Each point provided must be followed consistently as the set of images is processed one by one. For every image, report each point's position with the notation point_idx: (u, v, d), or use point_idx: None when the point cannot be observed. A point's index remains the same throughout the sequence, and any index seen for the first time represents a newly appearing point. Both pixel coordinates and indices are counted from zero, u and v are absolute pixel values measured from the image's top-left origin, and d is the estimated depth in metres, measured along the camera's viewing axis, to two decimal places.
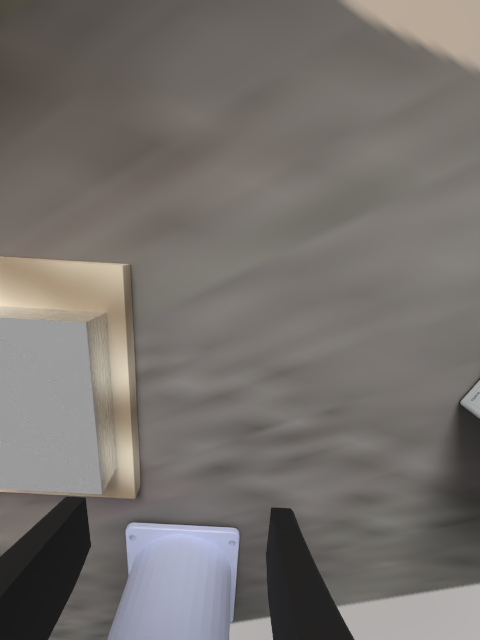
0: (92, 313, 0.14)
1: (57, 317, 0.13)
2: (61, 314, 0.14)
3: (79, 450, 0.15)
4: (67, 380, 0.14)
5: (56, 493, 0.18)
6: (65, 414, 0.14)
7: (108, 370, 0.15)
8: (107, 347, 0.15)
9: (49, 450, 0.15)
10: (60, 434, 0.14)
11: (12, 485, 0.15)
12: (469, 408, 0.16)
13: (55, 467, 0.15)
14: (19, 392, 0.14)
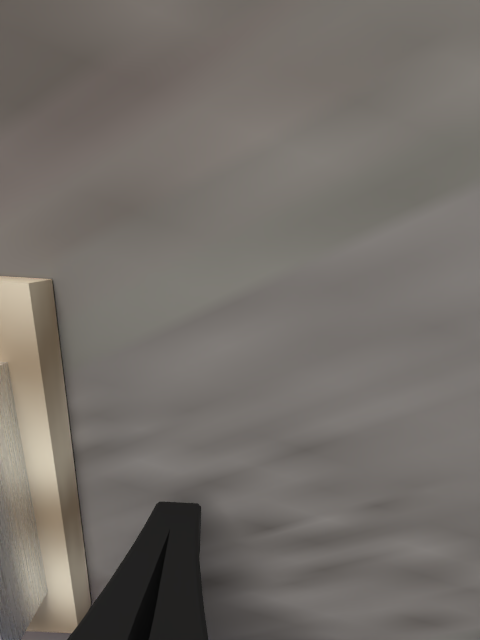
0: None
1: None
2: None
3: None
4: None
5: None
6: None
7: (18, 456, 0.09)
8: (13, 420, 0.09)
9: None
10: None
11: None
12: None
13: None
14: None
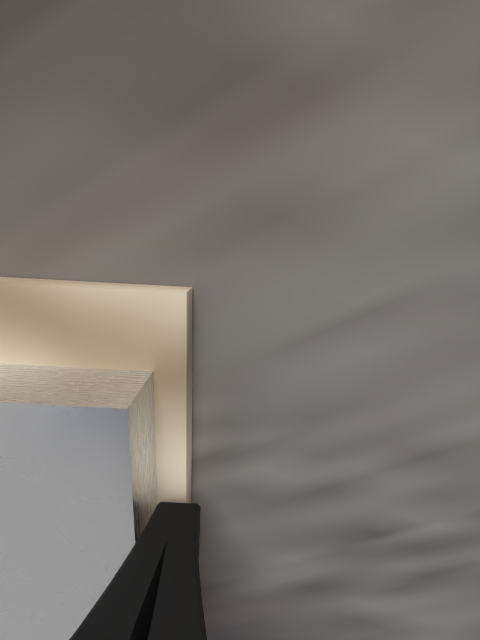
0: (129, 375, 0.08)
1: (70, 393, 0.07)
2: (76, 383, 0.08)
3: None
4: (89, 507, 0.07)
5: None
6: (84, 560, 0.08)
7: (154, 465, 0.09)
8: (153, 429, 0.09)
9: (55, 612, 0.08)
10: (74, 589, 0.08)
11: None
12: None
13: (65, 636, 0.09)
14: (0, 525, 0.07)
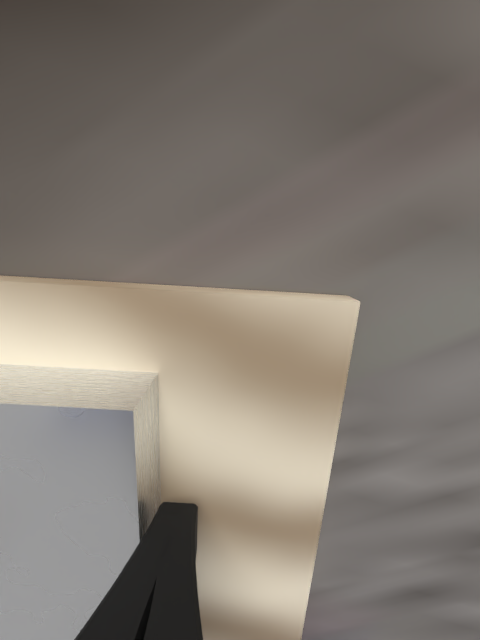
0: (134, 377, 0.08)
1: (76, 395, 0.07)
2: (82, 384, 0.08)
3: None
4: (93, 508, 0.07)
5: None
6: (89, 561, 0.08)
7: (158, 466, 0.09)
8: (157, 430, 0.09)
9: (58, 613, 0.08)
10: (78, 590, 0.08)
11: None
12: None
13: (69, 637, 0.09)
14: (5, 527, 0.07)
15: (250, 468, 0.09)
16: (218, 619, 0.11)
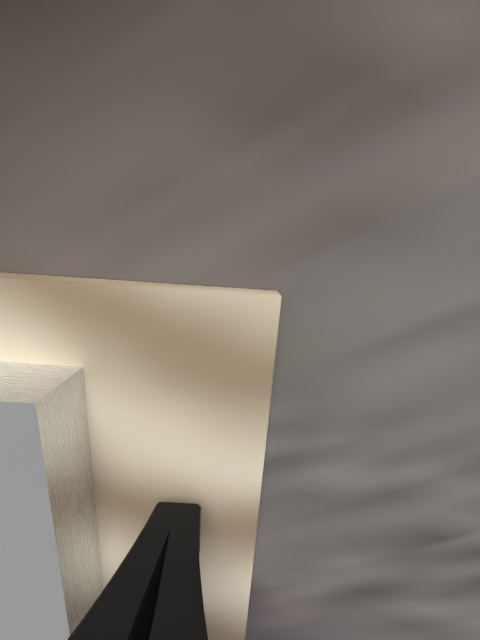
0: (56, 370, 0.08)
1: None
2: None
3: (32, 609, 0.08)
4: (5, 502, 0.07)
5: None
6: (6, 556, 0.08)
7: (87, 462, 0.09)
8: (85, 425, 0.09)
9: None
10: None
11: None
12: None
13: None
14: None
15: (182, 464, 0.09)
16: None
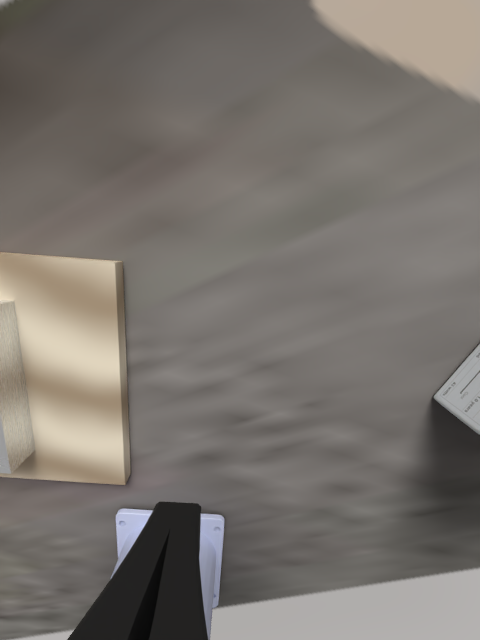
0: None
1: None
2: None
3: None
4: None
5: (49, 478, 0.19)
6: None
7: (19, 356, 0.16)
8: (16, 334, 0.16)
9: None
10: None
11: None
12: (441, 402, 0.17)
13: None
14: None
15: (73, 359, 0.16)
16: (71, 464, 0.18)
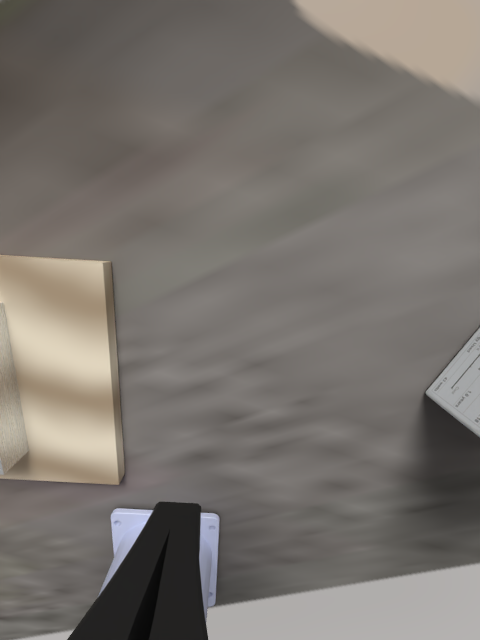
0: None
1: None
2: None
3: None
4: None
5: (44, 479, 0.19)
6: None
7: (10, 358, 0.16)
8: (6, 336, 0.16)
9: None
10: None
11: None
12: (432, 397, 0.17)
13: None
14: None
15: (64, 360, 0.16)
16: (65, 465, 0.19)
